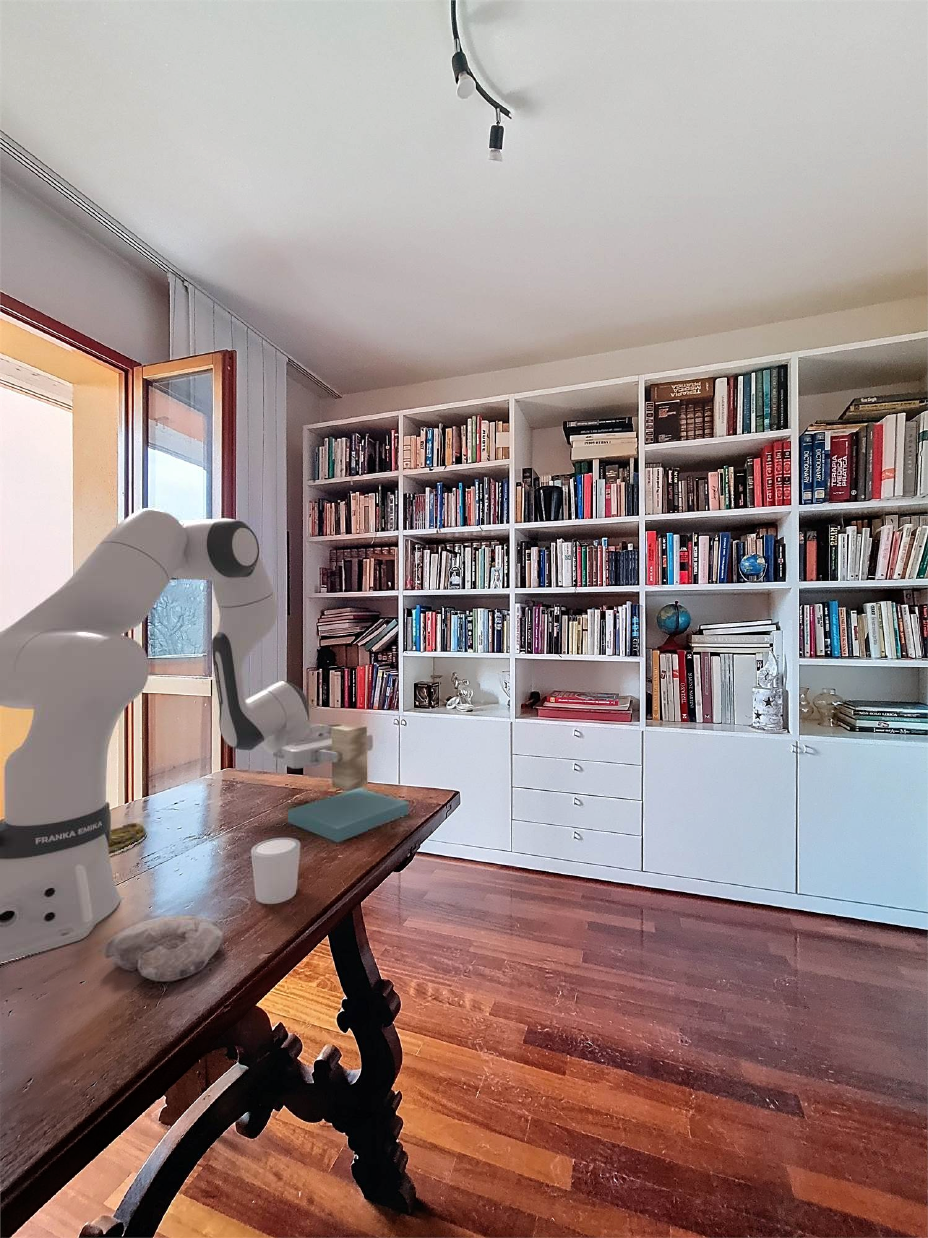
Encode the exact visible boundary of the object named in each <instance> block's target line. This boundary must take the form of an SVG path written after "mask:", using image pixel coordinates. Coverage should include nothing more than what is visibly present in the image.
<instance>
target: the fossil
mask: <svg viewBox="0 0 928 1238" xmlns="http://www.w3.org/2000/svg"><path fill="white" fill-rule="evenodd" d="M223 937H224V935H223V933H222V932H221V929H220V928H218V927H217V926H216V925H215V924H214V925H213V922H212V921H211V920H210V919H207V918H206V919H205V918H199V917H197V916H195V915H189V914H188V915H169V916H162V917H157V918H151V919H149V920H145V921H141V922H139V923H136V924H135V925H131V926H130V927H127V928H126V929H123V930H122V931H120V932H119V933H118V934H116V935H115V936H113V937H112V938H110V939H109V940H108V941H107V942H106V943H105V945H104V947H103V955H104V957H105V958H106V959H109V958H112V957H114V966H117V967H120V968H121V969H123V970H126V971H129V972H132V971H135V970H136V969H138V971H139V972H138V973H140V975H141V976H142V977H144V978H146V979H149V980H151V981H155V982H174V981H176V980H180V979H184V978H188V977H190V976H192V975H194V974H196V973H198V972H200V971H201V970H203V969H204V967H205V966H206V965H207V964H208V963H209V960H210V959H211V958H212V957H213V956H215V954H216V952H217V951H218V950H219V949H220V948H221V947H220V946H221V944H222V940H223V939H224V938H223Z"/></svg>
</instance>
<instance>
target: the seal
mask: <svg viewBox="0 0 928 1238" xmlns="http://www.w3.org/2000/svg"><path fill="white" fill-rule="evenodd" d="M146 833H147V831H146V829H145V827H144V826H143V825H142V824H140V823H137V822H131V823H128V824H127V823H126V824H124V825H122V826H121V827H116V828H111V833H110V841H109V842H108V850H109V854H111V853H115V852H117V851H119V850H121V849H124V848H125V847H128V846H129V845H132V844H134V843H135V842H138V841H139V840H141V839H142V838H143V837H145V835H146ZM146 836H147V835H146ZM145 838H146V837H145Z"/></svg>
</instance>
